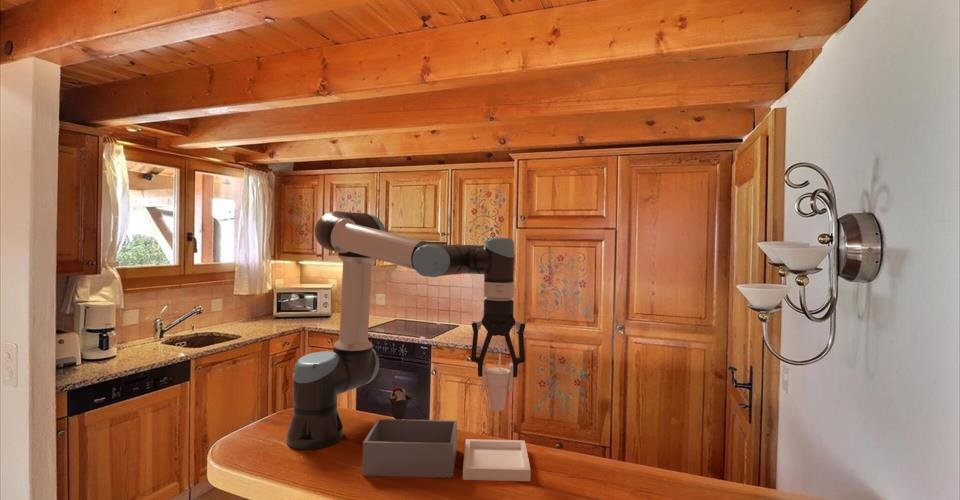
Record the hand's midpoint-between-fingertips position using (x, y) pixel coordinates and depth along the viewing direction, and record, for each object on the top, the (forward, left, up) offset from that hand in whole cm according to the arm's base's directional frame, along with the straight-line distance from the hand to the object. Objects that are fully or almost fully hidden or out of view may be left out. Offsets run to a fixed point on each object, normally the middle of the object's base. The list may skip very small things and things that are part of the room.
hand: (497, 389), depth 115 cm
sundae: (-33, -7, -19) cm, 39 cm away
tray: (0, 0, -19) cm, 19 cm away
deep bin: (-15, -15, -19) cm, 29 cm away
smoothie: (0, 0, -5) cm, 5 cm away
